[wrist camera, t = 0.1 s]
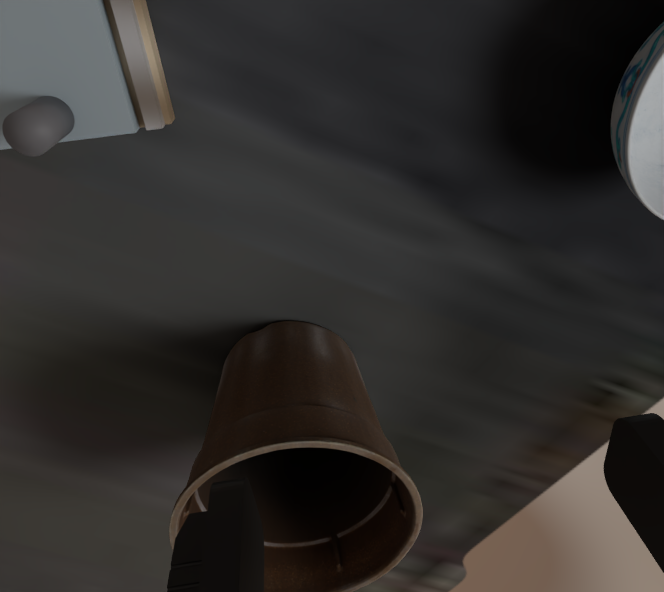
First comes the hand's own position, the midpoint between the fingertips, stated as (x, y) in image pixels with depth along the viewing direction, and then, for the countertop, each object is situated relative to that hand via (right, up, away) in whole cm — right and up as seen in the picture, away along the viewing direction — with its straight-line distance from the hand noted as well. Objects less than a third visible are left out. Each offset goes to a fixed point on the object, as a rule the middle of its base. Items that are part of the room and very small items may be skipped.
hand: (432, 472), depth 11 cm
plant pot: (-6, -3, +36) cm, 36 cm away
